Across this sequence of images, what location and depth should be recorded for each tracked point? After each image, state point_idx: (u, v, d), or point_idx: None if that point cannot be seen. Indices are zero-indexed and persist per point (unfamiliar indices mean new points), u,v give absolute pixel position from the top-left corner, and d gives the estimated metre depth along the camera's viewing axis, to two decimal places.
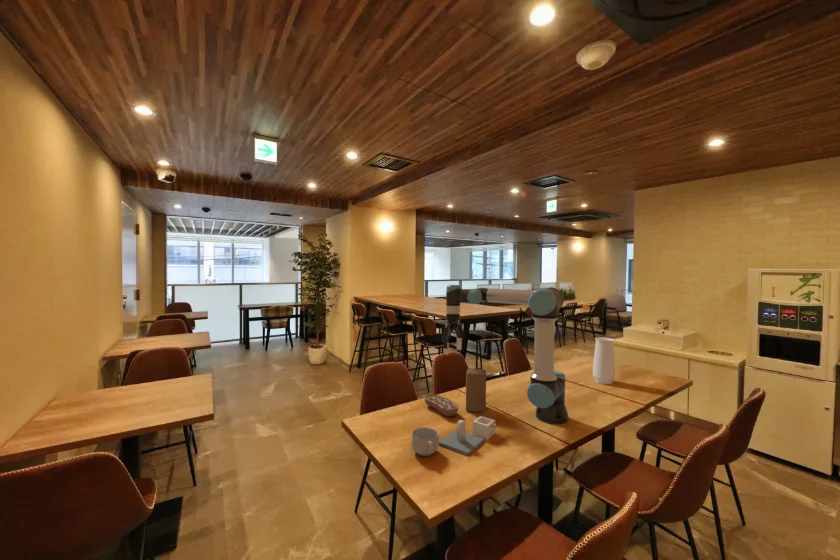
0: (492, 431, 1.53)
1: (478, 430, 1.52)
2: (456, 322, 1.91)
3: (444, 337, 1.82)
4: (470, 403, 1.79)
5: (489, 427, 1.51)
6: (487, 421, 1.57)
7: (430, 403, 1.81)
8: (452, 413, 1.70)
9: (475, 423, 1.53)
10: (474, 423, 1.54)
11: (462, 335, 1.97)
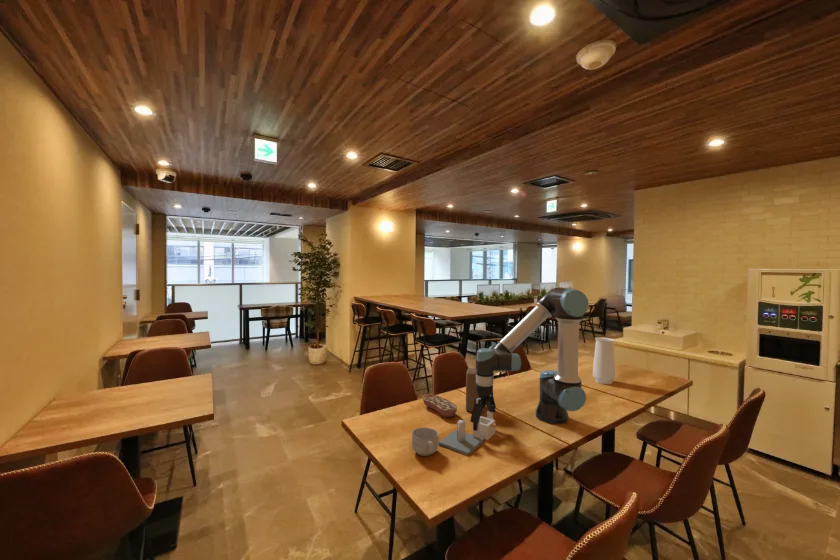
0: (492, 431, 1.53)
1: None
2: (488, 395, 1.55)
3: (474, 417, 1.47)
4: (470, 403, 1.79)
5: (489, 427, 1.51)
6: (487, 421, 1.57)
7: (429, 403, 1.80)
8: (450, 413, 1.70)
9: None
10: None
11: (494, 408, 1.61)
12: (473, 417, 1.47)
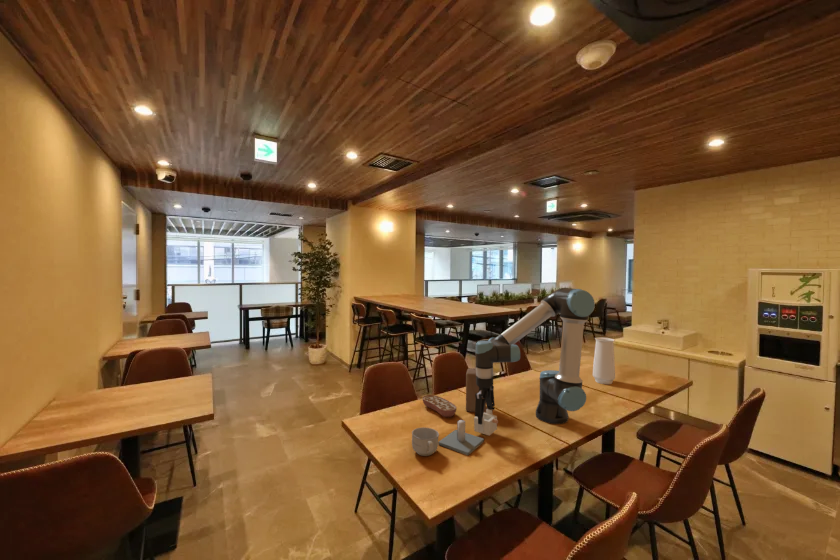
0: (493, 427, 1.53)
1: None
2: None
3: (478, 412, 1.49)
4: (470, 403, 1.79)
5: (491, 423, 1.51)
6: (489, 417, 1.57)
7: (428, 404, 1.80)
8: (450, 414, 1.70)
9: (477, 419, 1.53)
10: (476, 419, 1.54)
11: None
12: (477, 412, 1.49)
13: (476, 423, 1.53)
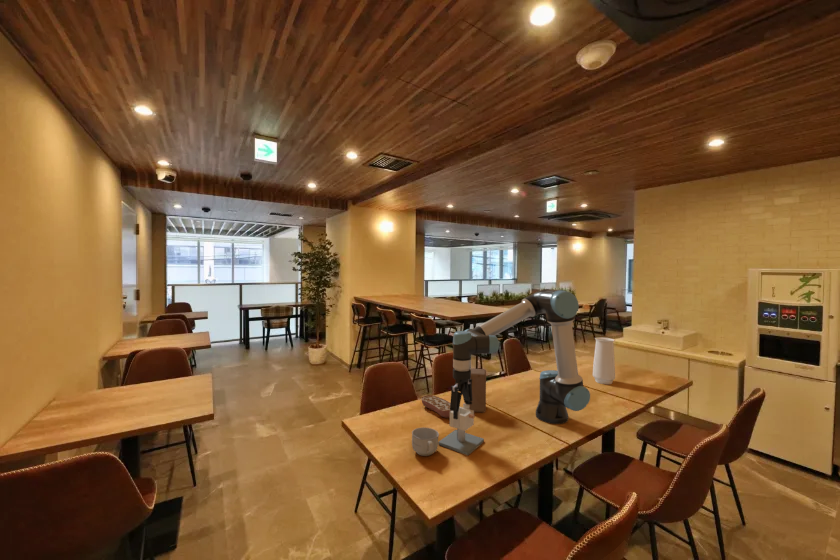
0: (470, 422, 1.45)
1: None
2: None
3: (454, 406, 1.40)
4: None
5: (466, 418, 1.43)
6: (465, 412, 1.48)
7: (427, 404, 1.80)
8: (449, 414, 1.69)
9: (452, 413, 1.45)
10: (451, 413, 1.45)
11: (470, 400, 1.51)
12: (452, 406, 1.41)
13: (451, 418, 1.45)
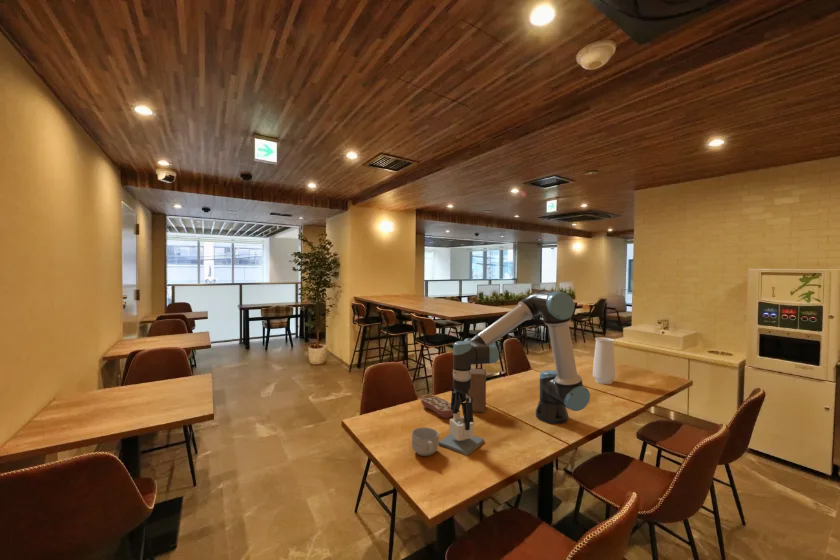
0: None
1: None
2: None
3: (471, 416, 1.40)
4: None
5: None
6: None
7: (426, 404, 1.80)
8: (448, 414, 1.69)
9: (461, 426, 1.42)
10: (460, 427, 1.42)
11: None
12: (470, 417, 1.40)
13: (460, 431, 1.42)
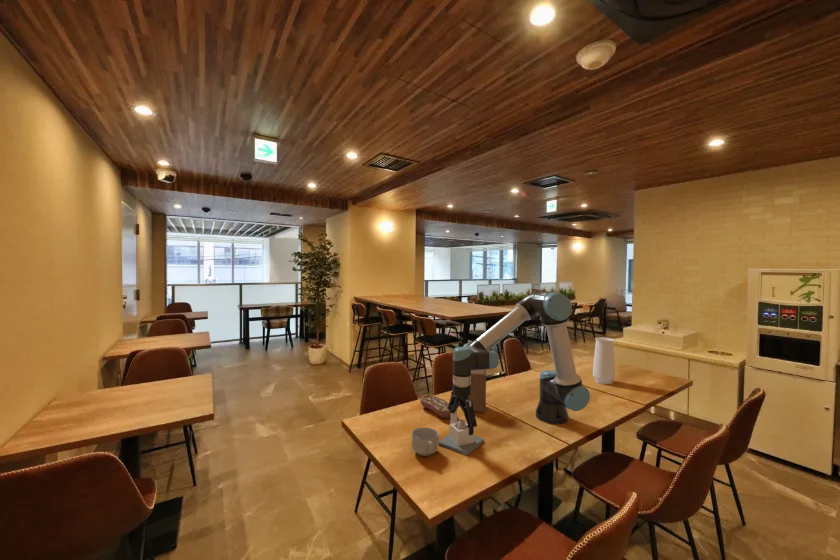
0: None
1: (464, 437, 1.43)
2: None
3: (474, 421, 1.38)
4: None
5: None
6: None
7: (426, 404, 1.79)
8: (448, 414, 1.69)
9: (461, 432, 1.43)
10: (460, 432, 1.42)
11: None
12: (473, 421, 1.38)
13: (460, 436, 1.43)
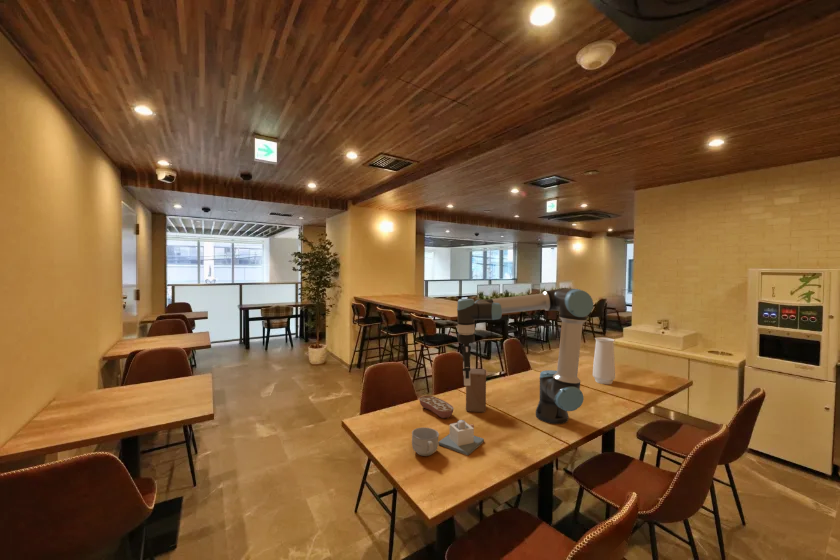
0: None
1: (464, 437, 1.43)
2: None
3: (468, 365, 1.47)
4: (470, 403, 1.79)
5: None
6: None
7: (425, 404, 1.79)
8: (447, 414, 1.69)
9: (461, 432, 1.43)
10: (460, 432, 1.42)
11: None
12: (466, 365, 1.47)
13: (460, 436, 1.43)
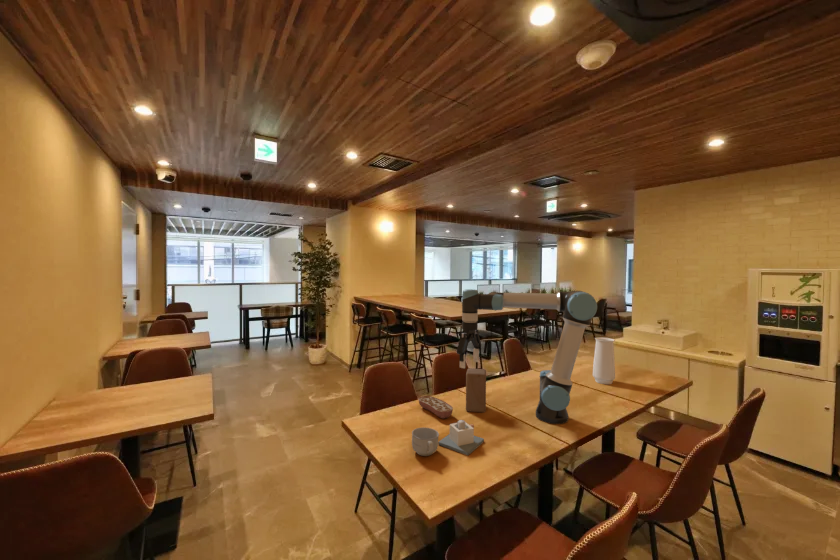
0: None
1: (464, 437, 1.43)
2: (473, 331, 1.70)
3: (460, 349, 1.62)
4: (470, 403, 1.79)
5: None
6: None
7: (424, 405, 1.79)
8: (446, 415, 1.68)
9: (461, 432, 1.43)
10: (460, 432, 1.42)
11: (479, 345, 1.76)
12: (459, 349, 1.62)
13: (460, 436, 1.43)
